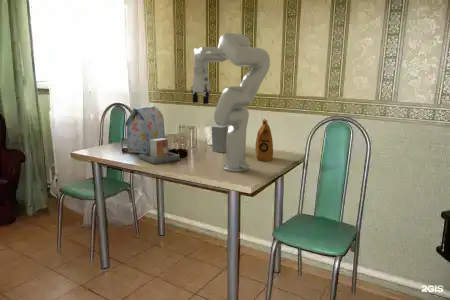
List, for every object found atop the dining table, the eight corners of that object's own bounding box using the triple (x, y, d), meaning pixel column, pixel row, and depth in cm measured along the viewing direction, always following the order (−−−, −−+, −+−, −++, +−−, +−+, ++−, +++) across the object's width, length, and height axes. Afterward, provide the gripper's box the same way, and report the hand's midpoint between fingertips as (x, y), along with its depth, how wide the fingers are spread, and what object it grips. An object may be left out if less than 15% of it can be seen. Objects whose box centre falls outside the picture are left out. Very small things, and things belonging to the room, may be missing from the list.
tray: (179, 159, 195) (179, 155, 194) (153, 164, 184) (153, 159, 184) (164, 154, 206) (164, 150, 206) (139, 158, 196) (138, 153, 196)
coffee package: (254, 161, 195) (255, 121, 191) (255, 156, 207) (257, 118, 203) (272, 162, 194) (274, 121, 189) (272, 157, 206) (274, 119, 201)
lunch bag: (143, 145, 232) (142, 104, 226) (167, 147, 226) (166, 105, 221) (123, 152, 211) (121, 107, 205) (148, 154, 205) (147, 108, 200)
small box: (156, 160, 191) (156, 140, 188) (150, 158, 194) (149, 139, 192) (168, 157, 197) (168, 139, 194) (161, 156, 200) (161, 137, 198)
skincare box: (228, 151, 219) (229, 125, 216) (222, 153, 213) (223, 127, 210) (217, 149, 223) (217, 124, 220) (210, 151, 217) (211, 125, 214)
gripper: (216, 71, 190) (215, 104, 193) (196, 71, 203) (196, 101, 206) (204, 71, 185) (204, 104, 189) (185, 71, 198) (185, 102, 201)
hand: (200, 103), depth 197 cm, fingers open, 9 cm apart
